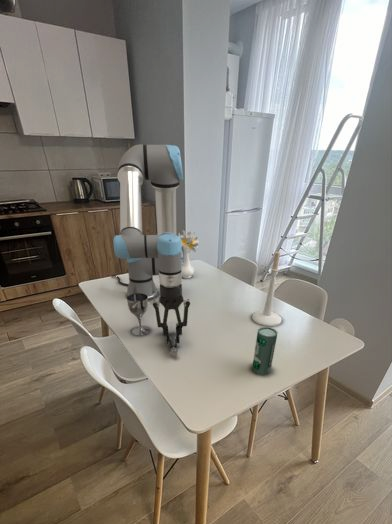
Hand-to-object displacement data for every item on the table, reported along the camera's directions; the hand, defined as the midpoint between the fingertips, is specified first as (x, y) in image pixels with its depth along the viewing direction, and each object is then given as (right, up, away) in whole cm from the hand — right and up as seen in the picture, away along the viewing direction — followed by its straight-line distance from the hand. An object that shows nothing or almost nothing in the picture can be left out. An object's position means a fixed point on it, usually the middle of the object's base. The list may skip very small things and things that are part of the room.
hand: (172, 341), depth 114 cm
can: (+31, -10, -11) cm, 35 cm away
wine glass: (-14, +4, +9) cm, 17 cm away
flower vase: (+4, +40, +62) cm, 74 cm away
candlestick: (+40, +10, +19) cm, 46 cm away
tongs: (0, 0, 0) cm, 0 cm away
